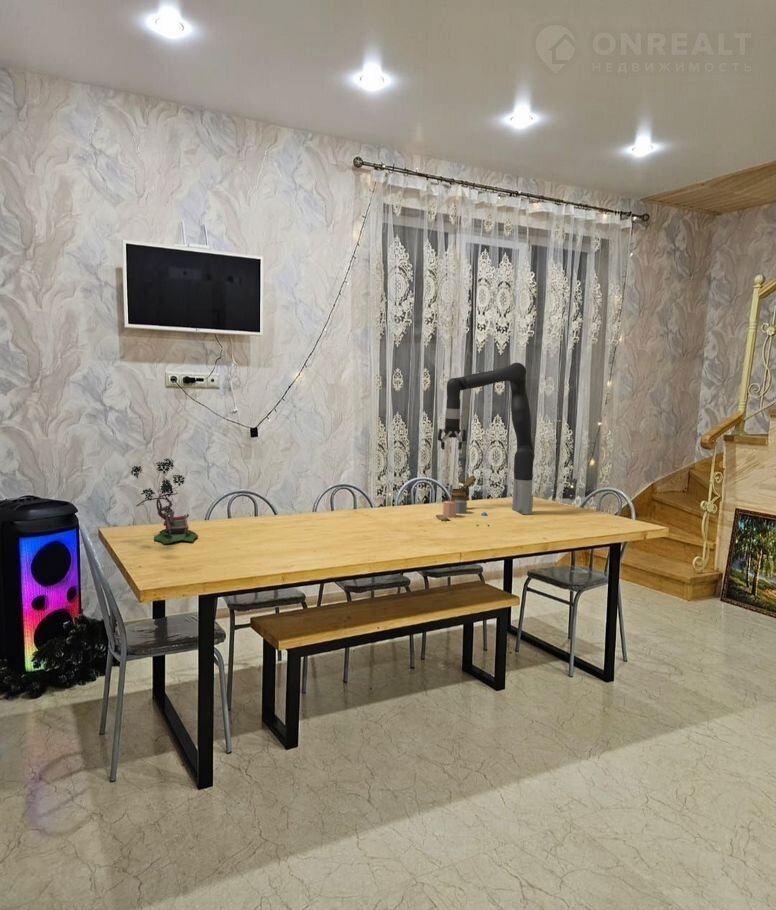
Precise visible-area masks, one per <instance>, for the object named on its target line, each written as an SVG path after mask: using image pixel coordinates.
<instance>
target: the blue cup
mask: <svg viewBox="0 0 776 910" xmlns="http://www.w3.org/2000/svg"><path fill="white" fill-rule="evenodd" d="M455 502H457V510H456V515H458V514H459V515H464V514H467V509H468V508H467V507H468V500H467V501H464V500H455Z"/></svg>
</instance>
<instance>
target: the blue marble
mask: <svg viewBox="0 0 776 910" xmlns="http://www.w3.org/2000/svg"><path fill="white" fill-rule="evenodd" d="M480 516H481V517H488V513H487V512H486V511H485V512H484V511H483V512H482V513H481V514H480Z"/></svg>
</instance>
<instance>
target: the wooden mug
mask: <svg viewBox="0 0 776 910" xmlns="http://www.w3.org/2000/svg"><path fill="white" fill-rule="evenodd" d="M474 482H475V476H474V475H470V476H468V477H467V478H466V479H465V482H464V487H462V488H452V490H451V492H450V495H451V496H450V501H455V500H464V501H467V502H468V499H469V496H470V489H469V487H470V488H471V486H472V485H473V483H474Z"/></svg>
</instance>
